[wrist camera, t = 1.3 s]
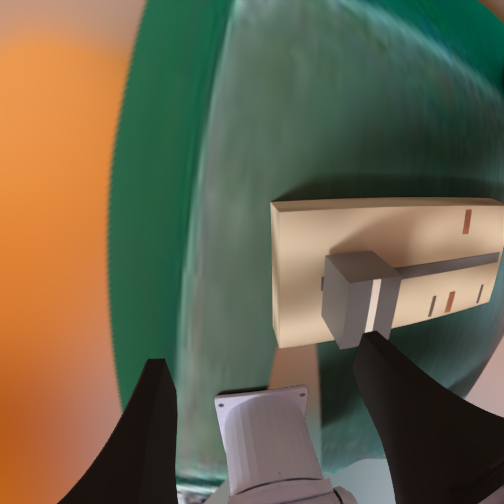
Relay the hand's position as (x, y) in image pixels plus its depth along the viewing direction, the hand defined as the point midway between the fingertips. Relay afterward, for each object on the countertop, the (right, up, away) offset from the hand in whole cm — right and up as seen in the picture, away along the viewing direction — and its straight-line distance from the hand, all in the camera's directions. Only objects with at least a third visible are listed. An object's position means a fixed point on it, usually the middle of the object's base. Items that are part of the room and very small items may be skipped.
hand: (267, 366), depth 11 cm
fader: (+5, +2, +7) cm, 9 cm away
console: (+11, +4, +11) cm, 16 cm away
